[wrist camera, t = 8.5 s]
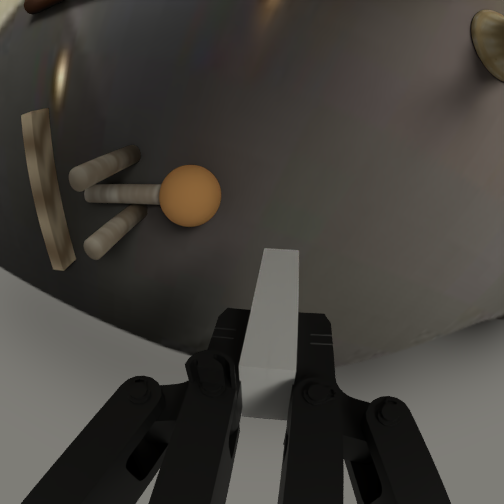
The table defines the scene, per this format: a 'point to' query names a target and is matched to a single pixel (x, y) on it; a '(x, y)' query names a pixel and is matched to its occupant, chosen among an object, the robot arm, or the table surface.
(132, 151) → the pin
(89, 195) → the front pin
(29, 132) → the grey long bar
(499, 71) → the hand bell
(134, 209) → the pin
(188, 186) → the ball
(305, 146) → the table surface
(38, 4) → the sunglasses case
